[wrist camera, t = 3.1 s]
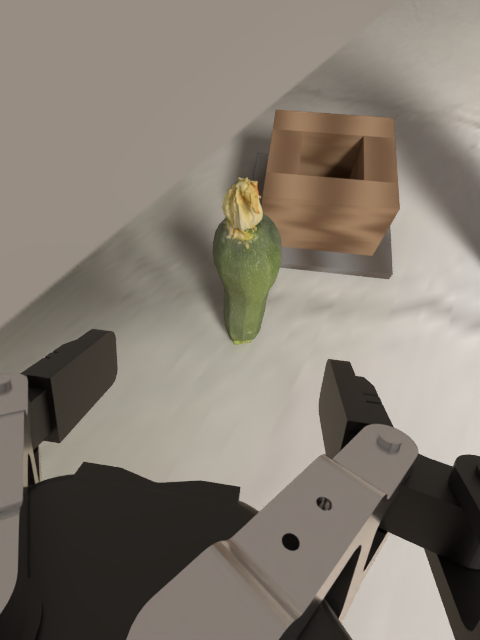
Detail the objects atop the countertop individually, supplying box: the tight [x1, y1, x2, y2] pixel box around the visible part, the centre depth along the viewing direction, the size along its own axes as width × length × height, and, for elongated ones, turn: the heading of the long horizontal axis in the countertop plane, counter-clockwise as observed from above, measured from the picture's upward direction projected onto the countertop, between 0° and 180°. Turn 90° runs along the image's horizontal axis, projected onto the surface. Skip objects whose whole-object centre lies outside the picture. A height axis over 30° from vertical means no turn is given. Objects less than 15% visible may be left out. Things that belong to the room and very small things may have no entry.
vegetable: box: [213, 177, 282, 345], centre depth 24 cm, size 4×4×20 cm
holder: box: [253, 110, 400, 279], centre depth 35 cm, size 16×16×8 cm
